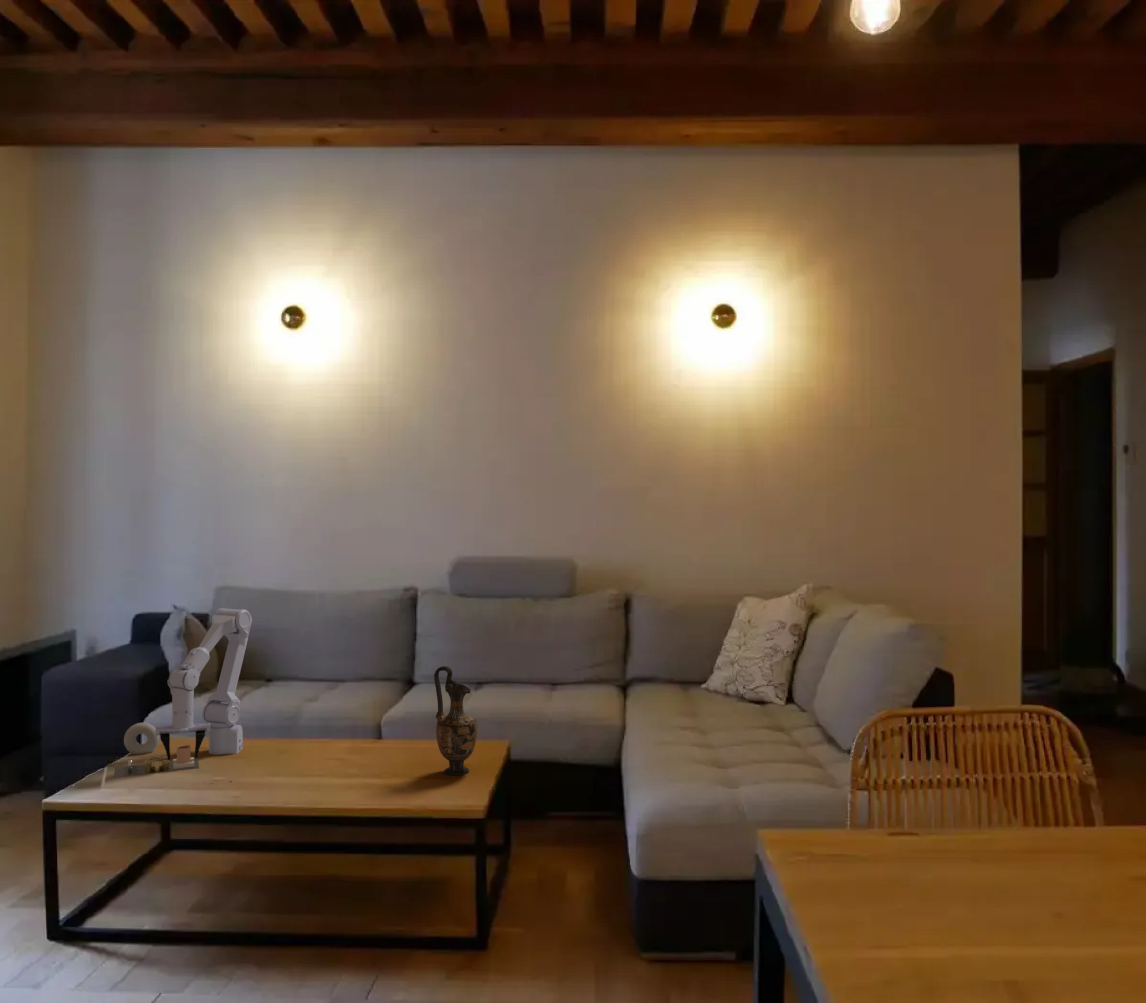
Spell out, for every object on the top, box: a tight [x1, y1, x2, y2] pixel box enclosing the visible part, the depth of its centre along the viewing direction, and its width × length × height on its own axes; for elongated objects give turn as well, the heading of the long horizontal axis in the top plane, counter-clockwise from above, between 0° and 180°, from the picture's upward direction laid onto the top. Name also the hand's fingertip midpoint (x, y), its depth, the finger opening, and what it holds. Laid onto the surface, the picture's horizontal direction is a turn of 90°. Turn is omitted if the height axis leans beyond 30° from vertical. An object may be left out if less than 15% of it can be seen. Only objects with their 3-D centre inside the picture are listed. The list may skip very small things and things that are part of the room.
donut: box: [123, 722, 160, 755], centre depth 286 cm, size 10×4×10 cm, turn 102°
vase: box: [433, 665, 478, 776], centre depth 271 cm, size 12×12×30 cm
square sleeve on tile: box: [172, 744, 195, 769], centre depth 273 cm, size 6×6×5 cm
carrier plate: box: [113, 755, 200, 779], centre depth 270 cm, size 22×10×4 cm, turn 114°
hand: (182, 758), depth 273 cm, fingers open, 7 cm apart
